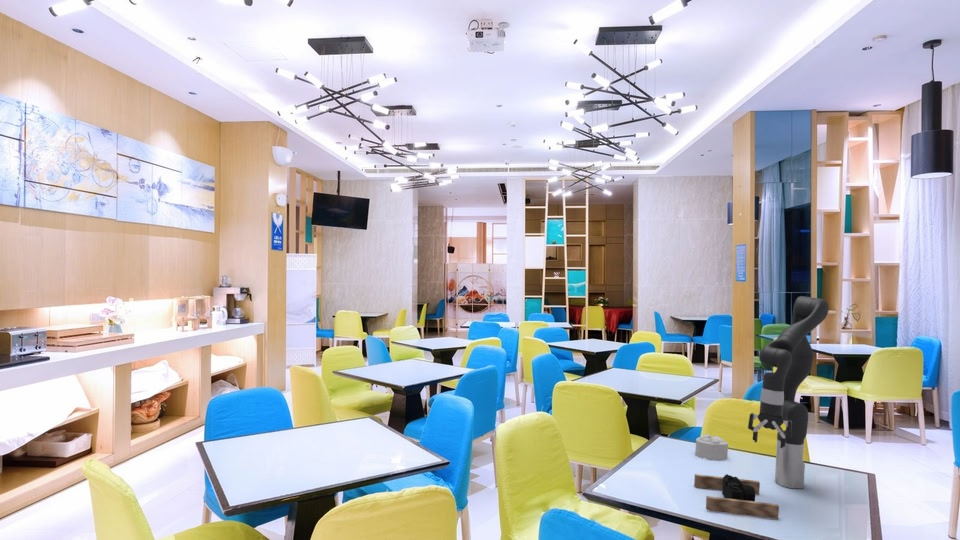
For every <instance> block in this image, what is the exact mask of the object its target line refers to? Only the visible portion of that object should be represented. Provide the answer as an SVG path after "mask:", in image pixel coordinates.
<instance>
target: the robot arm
mask: <svg viewBox="0 0 960 540" xmlns="http://www.w3.org/2000/svg"><path fill="white" fill-rule="evenodd" d="M829 309H830V308H829V303H828V301H827V300H825V299H823V298H817V297H813V296H812V297H811V296H803V295H802V296H801V295H800V296H797V298H796V299H795V301H794V304H793V309H792V320H791V325H789V326H787V327H785V328H784V329H783V330H782V331H781V332H780V334H779V335H778V336H777V337H776V339H774V340H772V341H770V342H769V343H768V344H766V345H765V346H763V348H762V349H760V351H759V355H758V358H759V361H760V363H761V364H762V365H764V366H766V367H767V366H768V367H773V368H776V370H775V372H765V373H764V374H763V376H762V384H761V385H762V386H761V387H762V388H761V391H760V398H759V399H760V405H759V413H758V414H755V413H754V412H751V413H750V414H749V418H748V425H747V429H748V430H751V431H752V441H754V443H758V438H759V437H758V435H759V432H758V431H759V430H760V429H762V428H764V429H770V430H772V431H775V430H776V431H777V432H776V433H777V434H776V453H775V472H774V481H775V483H776V484H778V485H779V486H782V487H785V488H788V489H802V488H804V487H805V486H804V485H805V470H806V464H805V462H804V448H805V447H804V446H805V443H804V442H805V439H806V436H807V434H808V433H807V432H808V426H809V425H808V424H809V411H808V408H807V406H805V404H803V403H800V402H798V401H796V400H795V399H796V394H797V391H798V388H799V387H800V385H801V384H802V383H803V382H804V381H805V379H807V377H808V376H809V375H810V373H811V371H812V368H813V361H814V354H815V353H814V350H813V348H812V346H811V344H810V341H809V339H808V338H807V335H808V334H809V333H811V332H812V331H813V330H815V329H816V328H817V327H818V326H819V325H820V324H821V323H823V322H824V321H825V319H826V318H827V316H828V314H829ZM756 419H758V421H759V423H758V424H757V425H756V426H754V421H756ZM783 424H784V425H785V430H783V428H782V425H783Z"/></svg>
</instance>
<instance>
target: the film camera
mask: <svg viewBox="0 0 960 540" xmlns="http://www.w3.org/2000/svg"><path fill="white" fill-rule="evenodd" d="M722 477H723V487H722V490H721V491H722V492H721V493H722V497H723V498H729V499H737V500H746V501H755V502H756V494H755V490H754V487H753V486H750V485H743V484H742V482H741V481H740V480H739V479H740V478H739V477H737V476H732V475H729V474H728V473H727V474H726V473H725V475H723V476H722Z"/></svg>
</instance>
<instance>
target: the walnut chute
mask: <svg viewBox="0 0 960 540" xmlns="http://www.w3.org/2000/svg"><path fill="white" fill-rule="evenodd" d="M723 477H724V476H717V475H716V476H714V475H705V474H698V473H697V474H694V480H693V481H694V484H693V486H694V488H699V489H709V490H717V491H722V487H723ZM738 479H739V480H740V481H741V482H742V484H743V485H750V486H753V487H754V490H755V495H760V489H761V488H760V487H761V486H760V485H761V483H760V481H759V480H751V479H744V478H743V479H742V478H738ZM705 499H706V501H705V509H707V510H709V512H715V513H716V512H717V513H724V514H733V515H742V516H749V517H758V518H766V519H776V520H779V513H780V511H779V509H780V505H779V504H778V503H771V502H761V501H756V500H755V501H746V500H737V499H729V498H724V497H718V496H710V495H706V498H705ZM707 510H706V511H707Z"/></svg>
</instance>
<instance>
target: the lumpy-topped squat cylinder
mask: <svg viewBox="0 0 960 540" xmlns="http://www.w3.org/2000/svg"><path fill="white" fill-rule="evenodd" d="M728 447H729V443H728V442H727V441H725V440H724V439H723V438H722V437H720V436H718V435H714V436H711V435H710V434H709V433H706V434H703V435H701V436H700V437H697V438H696V439H695V454H694V455H695V456H696V457H697V456H698V457H697V458H700V457H701V458H700V459H703V458H706V459H705V460H708V459H710V460H709V461H727V460H728V454H729V453H728V451H729V450H728V449H729V448H728ZM726 459H727V460H726Z"/></svg>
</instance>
